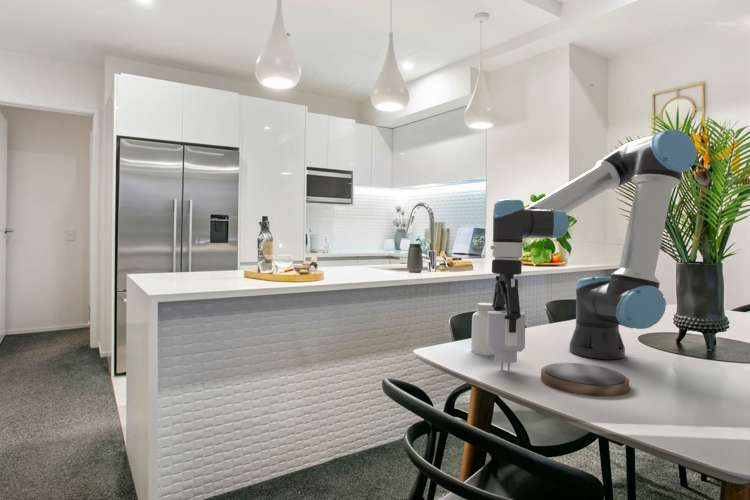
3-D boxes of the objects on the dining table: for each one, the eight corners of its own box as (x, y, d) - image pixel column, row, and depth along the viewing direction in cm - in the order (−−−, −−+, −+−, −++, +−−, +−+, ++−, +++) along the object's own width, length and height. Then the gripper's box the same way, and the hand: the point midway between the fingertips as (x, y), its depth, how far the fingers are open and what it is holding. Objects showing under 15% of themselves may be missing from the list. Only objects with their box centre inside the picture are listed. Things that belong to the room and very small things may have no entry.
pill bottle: (499, 357, 130) (500, 306, 130) (471, 355, 132) (472, 304, 132) (497, 351, 138) (498, 302, 138) (471, 349, 139) (471, 301, 139)
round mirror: (605, 372, 115) (605, 363, 115) (646, 397, 96) (646, 385, 96) (531, 370, 116) (531, 361, 116) (556, 394, 97) (557, 383, 97)
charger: (525, 373, 114) (525, 314, 113) (487, 370, 115) (488, 313, 115) (522, 368, 118) (523, 311, 118) (486, 366, 120) (487, 310, 120)
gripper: (483, 257, 129) (481, 330, 129) (503, 259, 104) (500, 349, 104) (509, 258, 129) (507, 331, 129) (536, 260, 104) (533, 351, 104)
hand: (504, 339), depth 117 cm, fingers open, 13 cm apart
